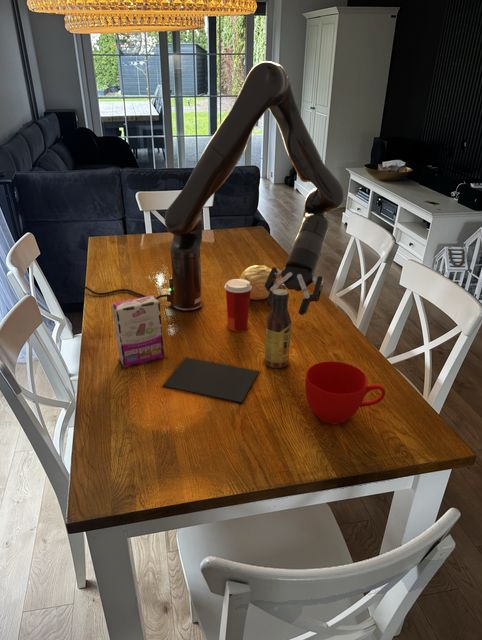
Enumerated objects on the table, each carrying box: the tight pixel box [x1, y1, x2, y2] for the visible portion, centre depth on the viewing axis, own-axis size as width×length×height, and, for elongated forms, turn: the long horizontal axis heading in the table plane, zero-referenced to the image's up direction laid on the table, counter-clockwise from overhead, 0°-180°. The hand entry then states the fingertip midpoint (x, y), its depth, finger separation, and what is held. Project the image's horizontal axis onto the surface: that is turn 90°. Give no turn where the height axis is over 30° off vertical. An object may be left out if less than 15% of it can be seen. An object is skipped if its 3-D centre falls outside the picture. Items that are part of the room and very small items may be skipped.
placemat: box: [162, 357, 260, 404], centre depth 120 cm, size 20×14×1 cm
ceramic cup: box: [304, 360, 386, 425], centre depth 106 cm, size 13×17×10 cm
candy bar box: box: [111, 294, 165, 368], centre depth 125 cm, size 11×5×16 cm, turn 117°
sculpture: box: [239, 264, 278, 301], centre depth 162 cm, size 11×12×11 cm
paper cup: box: [223, 278, 252, 332], centre depth 142 cm, size 8×8×14 cm
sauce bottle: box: [264, 289, 292, 369], centre depth 123 cm, size 7×6×20 cm
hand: (284, 310), depth 123 cm, fingers open, 8 cm apart
